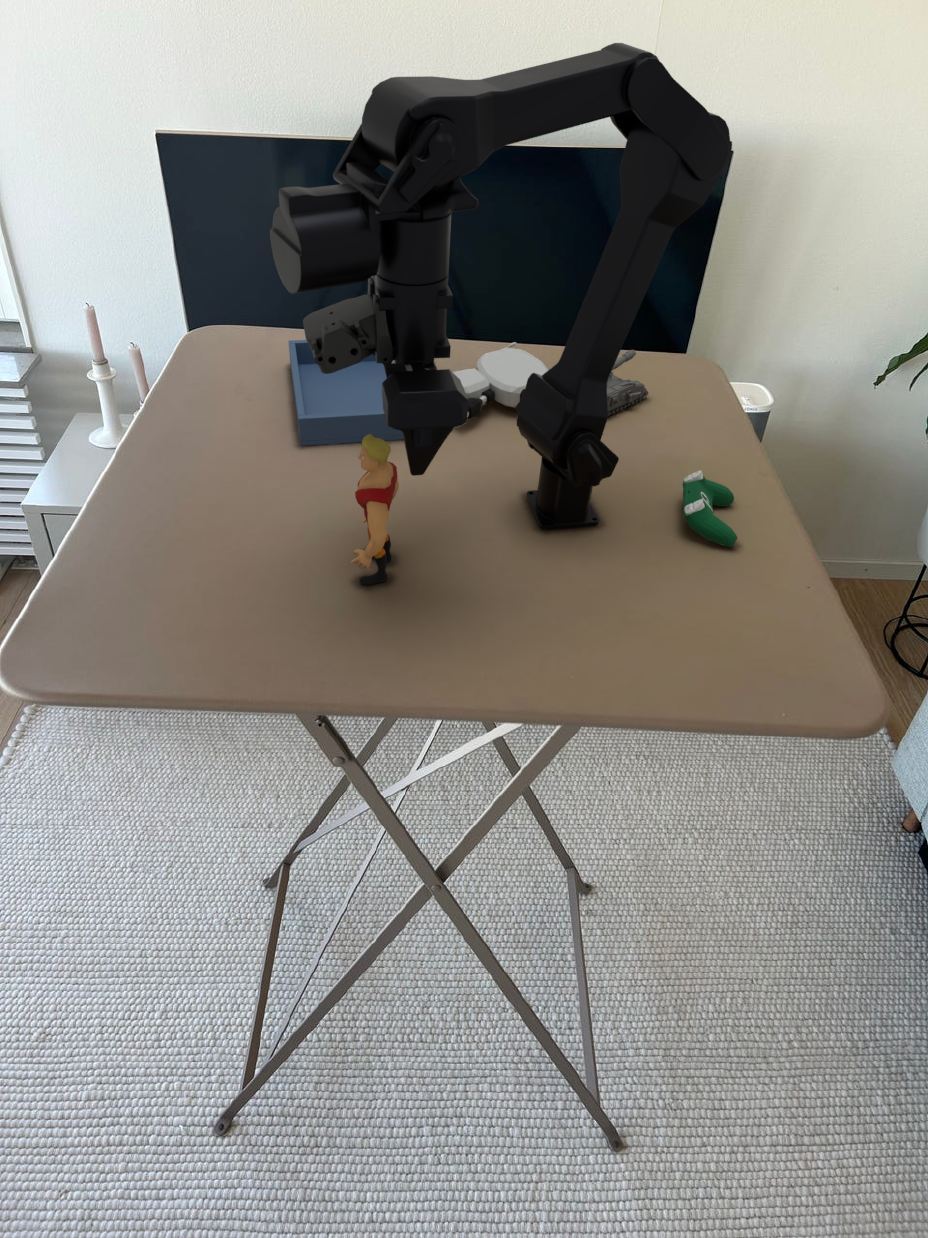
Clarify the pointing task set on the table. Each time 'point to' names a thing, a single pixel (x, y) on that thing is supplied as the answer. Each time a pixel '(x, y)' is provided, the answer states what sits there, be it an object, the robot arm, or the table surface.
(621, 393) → the tank toy
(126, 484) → the table surface
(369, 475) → the action figure
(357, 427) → the storage bin
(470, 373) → the robot toy
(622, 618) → the table surface
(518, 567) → the table surface
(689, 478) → the green christmas stockings
